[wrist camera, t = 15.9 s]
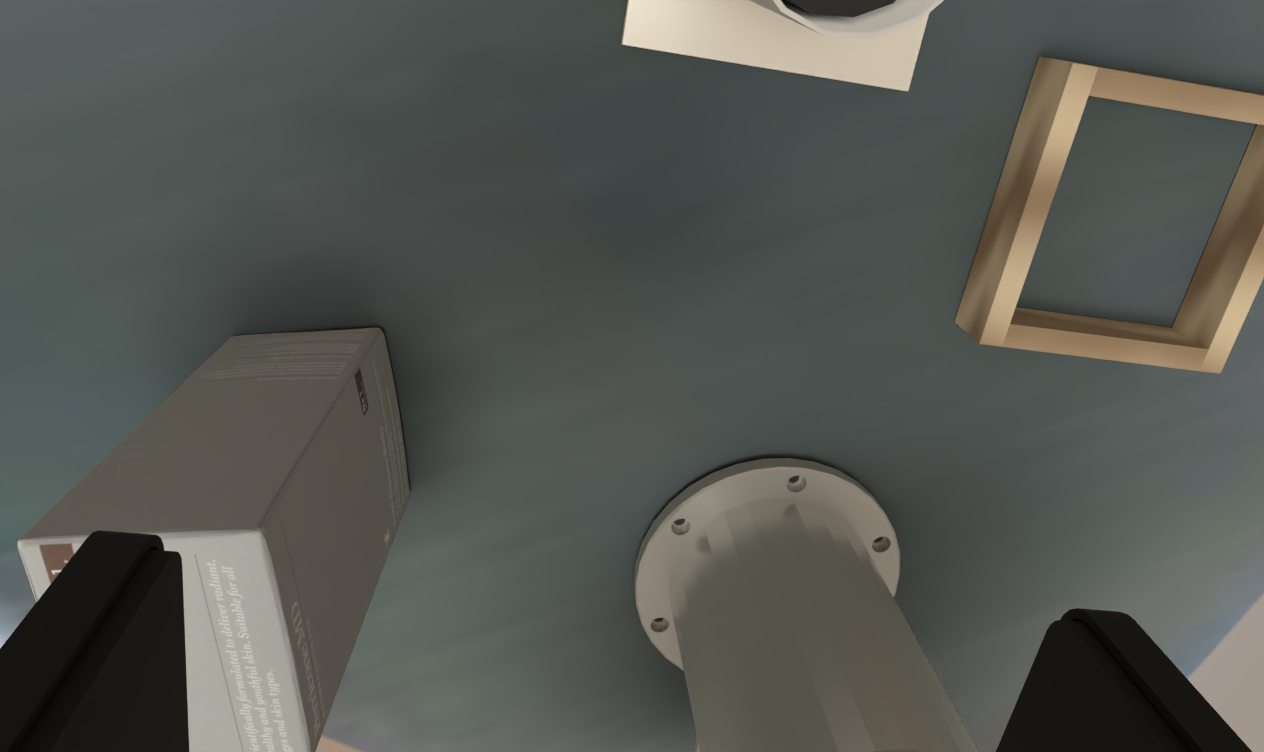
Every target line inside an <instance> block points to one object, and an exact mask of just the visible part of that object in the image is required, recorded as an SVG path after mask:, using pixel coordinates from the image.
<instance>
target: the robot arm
mask: <svg viewBox="0 0 1264 752" xmlns="http://www.w3.org/2000/svg"><path fill="white" fill-rule="evenodd" d="M793 476H794V477H793ZM791 477H793V478H791ZM677 519H679V520H677ZM899 577H900V550H899V545H898V541H897V537H896V533H895V531H894V529H893V527H892V525H891V523H890V521H889V519H888V517H887V515H886V514H885V512H884V511H883V509H882V508H881V506H880V505H879V503H878V502H877V501H876V499H875V498H874V496H873V495H872V494H871V493H870V492H868V491H867V490H866V489H865V488H864V487H863V486H862V485H861V484H860V483H859V482H858V481H856V480H854V479H853V478H851V477H849V476H848V475H846V474H844V473H842V472H841V471H839V470H837V469H834V468H831V467H829V466H826V465H823V464H820V463H817V462H813V461H807V460H800V459H793V458H771V459H759V460H754V461H749V462H744V463H739V464H735V465H733V466H730V467H727V468H724V469H722V470H719V471H716V472H714V473H711V474H710V475H708V476H706V477H704V478H703V479H701V480H699V481H697V482H696V483H694V484H692V485H690V486H689V487H688V488H686V489H685V490H684V491H683V492H682V493H680V494H679V495H678V496H677V497H675V498H674V499H673V500H672V501H671V502H669V504H668V505H667V506H666V507H665V508H664V509H663V511H662V512H661V513H660V514H659V515H658V517H657V518H656V519H655V520H654V521H653V523H652V525H651V527H650V528H649V530H648V532H647V534H646V536H645V537H644V539H643V541H642V544H641V547H640V550H639V553H638V556H637V560H636V563H635V575H634V589H635V598H636V606H637V609H638V613H639V617H640V620H641V624H642V626H643V628H644V630H645V632H646V633H647V635H648V637H649V639H650V641H651V642H652V644H653V645H654V646H655V647H656V648H657V649H658V650H659V651H660V652H661V654H662V655H663V656H664V657H665V658H666V659H667V660H669V661H670V662H672V663H673V664H674V665H676V666H677V667H678V668H680V669H681V670H683V671H684V674H685V679H686V684H687V689H688V694H689V699H690V704H691V709H692V714H693V719H694V724H695V729H696V734H697V738H696V742H695V746H694V750H693V752H978V751H977V749H976V747H975V745H974V743H973V742H972V740H971V738H970V736H969V734H968V732H967V731H966V729H965V727H964V725H963V723H962V722H961V720H960V718H959V716H958V714H957V712H956V711H955V709H954V707H953V705H952V703H951V702H950V700H949V698H948V696H947V694H946V692H945V691H944V689H943V687H942V685H941V683H940V682H939V680H938V678H937V676H936V674H935V672H934V671H933V669H932V667H931V665H930V663H929V662H928V660H927V658H926V656H925V654H924V652H923V651H922V649H921V647H920V645H919V643H918V642H917V640H916V638H915V636H914V634H913V632H912V631H911V629H910V627H909V625H908V623H907V622H906V620H905V618H904V616H903V614H902V612H901V611H900V609H899V607H898V605H897V603H896V602H895V600H894V597H895V594H896V590H897V586H898V581H899ZM0 752H189V728H188V702H187V676H186V649H185V623H184V596H183V570H182V558H181V556H180V553H178V552H176V551H164V545H163V542H162V539H161V537H159V536H158V535H152V534H139V533H126V532H114V531H101V530H98V531H95V532H93V533H92V534H90V535H89V536H88V537H87V538H86V540H85V541H84V542H83V544H82V545H81V546H80V547H79V549H78V550H77V551H76V553H75V554H74V555H73V556H72V558H71V559H70V560H69V562H68V563H67V564H66V565H65V567H64V568H63V569H62V570H61V572H60V573H59V574H58V576H57V577H56V578H55V579H54V581H53V582H52V583H51V585H50V586H49V587H48V588H47V590H46V591H45V592H44V594H43V595H42V596H41V597H40V599H39V600H38V601H37V603H36V604H35V605H34V606H33V608H32V609H31V610H30V612H29V613H28V614H27V615H26V617H25V618H24V619H23V620H22V622H21V623H20V624H19V626H18V627H17V628H16V629H15V631H14V632H13V633H12V635H11V636H10V637H9V638H8V640H7V641H6V642H5V644H4V645H3V646H2V647H1V649H0ZM996 752H1252V751H1251V750H1250V749H1249V748H1248V747H1247V746H1246V744H1245V743H1244V742H1243V741H1242V740H1241V739H1240V738H1239V737H1238V736H1237V734H1236V733H1235V732H1234V731H1233V730H1232V729H1231V728H1230V727H1229V725H1228V724H1227V723H1226V722H1225V721H1224V720H1223V719H1222V718H1221V717H1220V715H1219V714H1218V713H1217V712H1216V711H1215V710H1214V709H1213V707H1212V706H1211V705H1210V704H1209V703H1208V702H1207V701H1206V700H1205V699H1204V697H1203V696H1202V695H1201V694H1200V693H1199V692H1198V691H1197V690H1196V689H1195V688H1194V686H1193V685H1192V684H1191V683H1190V682H1189V681H1188V679H1187V678H1186V677H1185V676H1184V675H1183V674H1182V673H1181V672H1180V671H1179V669H1178V668H1177V667H1176V666H1175V665H1174V664H1173V663H1172V662H1171V660H1170V659H1169V658H1168V657H1167V656H1166V655H1165V654H1164V653H1163V652H1162V650H1161V649H1160V648H1159V647H1158V646H1157V645H1156V644H1155V643H1154V641H1153V640H1152V639H1151V638H1150V637H1149V636H1148V635H1147V634H1146V633H1145V631H1144V630H1143V629H1142V628H1141V627H1140V626H1139V625H1138V624H1137V622H1136V621H1135V620H1134V619H1132V618H1131V617H1130V616H1129V615H1127V614H1125V613H1121V612H1115V611H1103V610H1090V609H1078V608H1077V609H1071V610H1069V611H1068V612H1066V613H1065V614H1064V615H1063V616H1062V618H1061V620H1058V621H1055V622H1053V623H1052V624H1051V625H1050V626H1049V628H1048V630H1047V632H1046V634H1045V636H1044V639H1043V641H1042V644H1041V646H1040V648H1039V651H1038V653H1037V655H1036V658H1035V660H1034V663H1033V665H1032V667H1031V670H1030V672H1029V674H1028V677H1027V679H1026V682H1025V684H1024V686H1023V689H1022V691H1021V693H1020V696H1019V698H1018V701H1017V703H1016V705H1015V708H1014V710H1013V712H1012V715H1011V717H1010V720H1009V722H1008V724H1007V727H1006V729H1005V731H1004V734H1003V736H1002V739H1001V741H1000V743H999V746H998V748H997V750H996Z"/></svg>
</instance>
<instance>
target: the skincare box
mask: <svg viewBox="0 0 1264 752" xmlns="http://www.w3.org/2000/svg"><path fill="white" fill-rule="evenodd" d="M409 496H410V494H409V484H408V475H407V466H406V457H405V450H404V442H403V435H402V428H401V421H400V414H399V408H398V402H397V396H396V390H395V385H394V380H393V374H392V369H391V364H390V360H389V355H388V350H387V345H386V341H385V337H384V333H383V332H382V330H381V329H380V328H363V329H348V330H331V331H314V332H296V333H273V334H258V335H241V336H232V337H229V338H228V340H227V341H226V342H225V343H224V344H223V345H221V346H220V347H219V349H218V350H217V351H216V352H214V353H213V354H212V355H211V356H210V357H209V358H208V359H207V360H206V361H205V362H204V363H203V364H202V365H201V366H200V367H199V368H197V369H196V370H195V371H194V372H193V373H192V374H191V375H190V376H189V377H188V378H187V379H186V380H185V381H184V382H183V383H182V384H181V385H180V386H179V387H178V388H177V389H176V390H175V391H174V392H173V393H172V394H171V395H170V396H169V397H168V398H167V399H166V400H165V401H164V402H163V403H162V404H161V405H160V406H159V407H158V408H157V409H155V410H154V411H153V412H152V413H151V414H150V415H149V416H148V417H147V418H146V419H145V420H144V421H143V422H142V423H141V424H140V425H139V426H138V427H137V428H136V429H135V430H134V431H133V432H132V433H131V434H130V435H129V436H128V437H127V438H126V439H125V440H124V441H123V442H122V443H121V444H120V445H119V446H117V447H116V448H115V449H114V450H113V451H112V452H111V453H110V454H109V455H108V456H107V457H106V458H105V459H104V460H103V461H102V462H101V463H100V464H99V465H98V466H97V467H96V468H94V469H93V470H92V471H91V472H90V473H89V474H88V475H87V476H86V477H85V478H84V479H83V480H82V481H81V482H80V483H79V484H78V485H77V486H76V487H75V488H73V489H72V490H71V491H70V492H69V493H68V494H67V495H66V496H65V497H64V498H63V499H62V500H61V501H60V502H59V503H58V504H57V505H56V506H55V507H54V508H53V509H52V510H50V511H49V512H48V513H47V514H46V515H45V516H44V517H43V518H42V519H41V520H40V521H39V522H38V523H37V524H36V525H35V526H34V527H33V528H32V529H31V530H29V531H28V532H27V533H26V534H25V535H24V536H23V537H22V538H21V539H20V540H19V541H18V543H17V546H18V550H19V552H20V555H21V558H22V561H23V564H24V567H25V570H26V573H27V576H28V579H29V582H30V585H31V588H32V591H33V594H34V596H35V599H36V602H37V601H38V600H39V599H40V597H41V596H42V595H43V594H44V592H45V591H46V590H47V588H48V587H49V586H50V585H51V583H52V582H53V581H54V579H55V578H56V577H57V576H58V574H59V573H60V572H61V570H62V569H63V568H64V567H65V565H66V564H67V563H68V562H69V560H70V559H71V558H72V556H73V555H74V554H75V553H76V551H77V550H78V549H79V547H80V546H81V545H82V544H83V542H84V541H85V540H86V538H87V537H88V536H89V535H90V534H92V533H93V532H95V531H98V530H101V531H114V532H126V533H139V534H152V535H158V536H159V537H161V539H162V542H163V545H164V551H176V552H178V553H180V556H181V558H182V570H183V596H184V623H185V649H186V676H187V702H188V728H189V752H315V751H316V748H317V745H318V743H319V740H320V737H321V734H322V732H323V729H324V726H325V723H326V721H327V718H328V715H329V712H330V710H331V707H332V704H333V702H334V699H335V696H336V693H337V691H338V688H339V685H340V682H341V680H342V677H343V674H344V672H345V669H346V666H347V664H348V661H349V658H350V655H351V653H352V650H353V647H354V645H355V642H356V639H357V637H358V634H359V631H360V628H361V626H362V623H363V620H364V618H365V615H366V612H367V610H368V607H369V604H370V602H371V599H372V596H373V593H374V590H375V588H376V585H377V582H378V580H379V577H380V574H381V572H382V569H383V566H384V564H385V561H386V558H387V555H388V552H389V550H390V547H391V545H392V542H393V539H394V537H395V534H396V531H397V528H398V526H399V523H400V520H401V518H402V515H403V512H404V510H405V507H406V505H407V502H408V500H409Z"/></svg>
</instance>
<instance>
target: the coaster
mask: <svg viewBox="0 0 1264 752" xmlns="http://www.w3.org/2000/svg"><path fill="white" fill-rule="evenodd" d="M928 16H929V13H928V14H927V15H926V16H925V17H924V18H923V19H922V20H920V21H919V22H918V23H915V24H912V25H909V26H906V27H904V28H901V29H898V30H895V31H892V32H889V33H887V34H884V35H881V36H878V37H875V38H873V39H864V38H850V37H836V36H823V35H821V34H819V33H817V32H815V31H813V30H811V29H809V28H806V27H804V26H802V25H800V24H798V23H796V22H794V21H792V20H790V19H787V18H785V17H783V16H781V15H779V14H777V13H775V12H773V11H771V10H768V9H766V8H764V7H762V6H760V5H758V4H756V3H754V2H751V1H749V0H627V5H626V12H625V19H624V25H623V32H622V39H621V44H622V45H628V46H634V47H640V48H646V49H653V50H659V51H665V52H671V53H677V54H683V55H689V56H695V57H701V58H707V59H713V60H719V61H726V62H732V63H738V64H744V65H750V66H756V67H762V68H768V69H774V70H780V71H786V72H793V73H799V74H805V75H811V76H817V77H823V78H829V79H835V80H841V81H847V82H853V83H860V84H866V85H872V86H878V87H884V88H890V89H896V90H902V91H908V90H909V86H910V83H911V79H912V75H913V71H914V68H915V64H916V60H917V57H918V53H919V49H920V46H921V42H922V38H923V34H924V31H925V27H926V23H927V20H928Z"/></svg>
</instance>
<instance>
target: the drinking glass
mask: <svg viewBox="0 0 1264 752" xmlns="http://www.w3.org/2000/svg"><path fill="white" fill-rule="evenodd" d="M749 1H751V2H754V3H756V4H758V5H760V6H762V7H764V8H766V9H768V10H771V11H773V12H775V13H777V14H779V15H781V16H783V17H785V18H787V19H790V20H792V21H794V22H796V23H798V24H800V25H802V26H804V27H806V28H809V29H811V30H813V31H815V32H817V33H819V34H821V35H823V36H836V37H850V38H864V39H873V38H875V37H878V36H881V35H884V34H887V33H889V32H892V31H895V30H898V29H901V28H904V27H906V26H909V25H912V24H915V23H918V22H919V21H920V20H922V19H923V18H924V17H925V16H926V15H927V14H928V13H930V12H931V11H932V10H933V9H934V8H935V7H937V6H938V5H939V4H940V3H941V2H942V1H944V0H749Z"/></svg>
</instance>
